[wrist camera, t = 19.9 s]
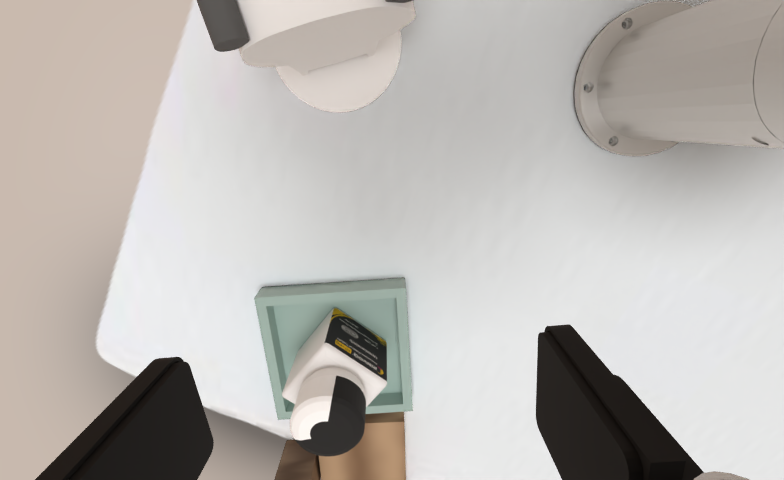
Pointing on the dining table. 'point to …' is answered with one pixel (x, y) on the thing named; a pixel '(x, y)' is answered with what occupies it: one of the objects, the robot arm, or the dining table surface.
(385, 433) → the tan wooden block
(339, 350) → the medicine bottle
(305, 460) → the dark brown wooden block
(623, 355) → the dining table surface
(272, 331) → the tray
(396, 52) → the panda figurine
